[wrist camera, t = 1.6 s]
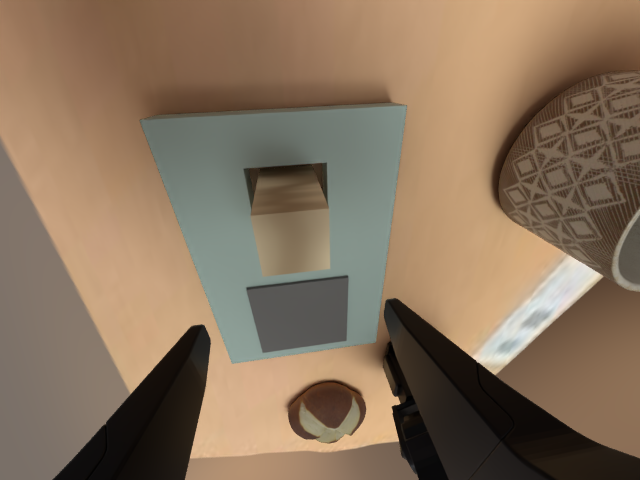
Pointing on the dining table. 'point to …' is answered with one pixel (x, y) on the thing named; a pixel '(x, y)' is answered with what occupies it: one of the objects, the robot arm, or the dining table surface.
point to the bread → (327, 412)
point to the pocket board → (237, 231)
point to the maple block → (290, 221)
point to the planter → (583, 175)
